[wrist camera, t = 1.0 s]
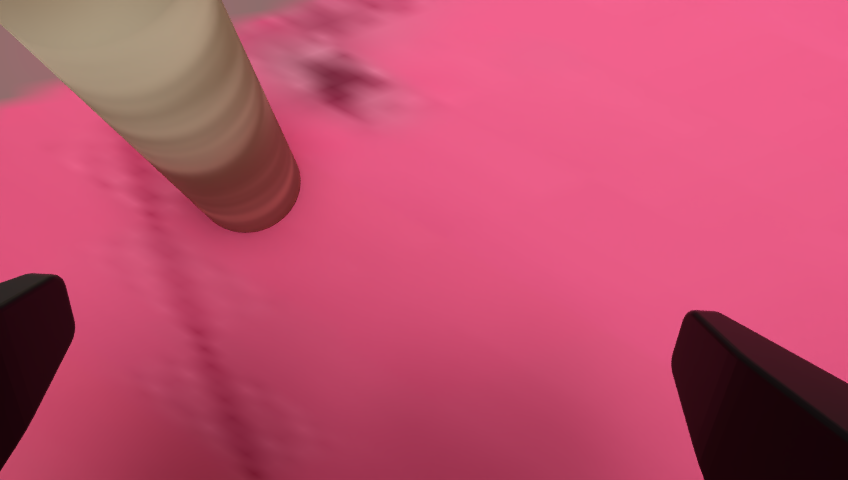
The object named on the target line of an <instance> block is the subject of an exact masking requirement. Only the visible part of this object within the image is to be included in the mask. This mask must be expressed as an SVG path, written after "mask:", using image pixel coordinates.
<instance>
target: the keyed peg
mask: <svg viewBox="0 0 848 480" xmlns="http://www.w3.org/2000/svg"><path fill="white" fill-rule="evenodd" d="M0 24H1V25H2V26H3V27H4V28H5V29H6V30H7V31H8V32H9V33H11V34H12V35H13V36H14V37H15V38H16V39H17V40H18V41H19V42H20V43H21V44H22V45H23V46H25V47H26V48H27V49H28V50H29V51H30V52H31V53H32V54H33V55H34V56H35V57H36V58H38V59H39V60H40V61H41V62H42V63H43V64H44V65H45V66H46V67H47V68H48V69H49V70H50V71H52V72H53V73H54V74H55V75H56V76H57V77H58V78H59V79H60V80H61V81H62V82H63V83H64V84H66V85H67V86H68V87H69V88H70V89H71V90H72V91H73V92H74V93H75V94H76V95H77V96H78V97H80V98H81V99H82V100H83V101H84V102H85V103H86V104H87V105H88V106H89V107H90V108H91V109H92V110H94V111H95V112H96V113H97V114H98V115H99V116H100V117H101V118H102V119H103V120H104V121H105V122H107V123H108V124H109V125H110V126H111V127H112V128H113V129H114V130H115V131H116V132H117V133H118V134H119V135H121V136H122V137H123V138H124V139H125V140H126V141H127V142H128V143H129V144H130V145H131V146H132V147H133V148H135V149H136V150H137V151H138V152H139V153H140V154H141V155H142V156H143V157H144V158H145V159H146V160H148V161H149V162H150V163H151V164H152V165H153V166H154V167H155V168H156V169H157V170H158V171H159V172H160V173H162V174H163V175H164V176H165V177H166V178H167V179H168V180H169V181H170V182H171V183H172V184H173V185H174V186H176V187H177V188H178V189H179V190H180V191H181V192H182V193H183V194H184V195H185V196H186V197H187V198H188V199H190V200H191V201H192V202H193V203H194V204H195V205H196V206H197V207H198V208H199V209H200V210H201V211H203V212H204V213H205V214H206V215H207V216H208V217H209V218H210V219H211V220H212V221H213V222H215V223H216V224H218V225H219V226H221V227H223V228H225V229H228V230H231V231H236V232H255V231H260V230H263V229H266V228H268V227H270V226H272V225H274V224H276V223H277V222H279V221H280V220H281V219H283V218H284V217H285V216H286V215H287V214H288V213H289V211H290V210H291V209H292V207H293V205H294V204H295V202H296V199H297V197H298V194H299V190H300V172H299V168H298V165H297V163H296V161H295V159H294V157H293V154H292V152H291V150H290V148H289V146H288V143H287V141H286V139H285V137H284V135H283V133H282V130H281V128H280V126H279V124H278V122H277V120H276V117H275V115H274V113H273V111H272V109H271V107H270V104H269V102H268V100H267V98H266V96H265V94H264V91H263V89H262V87H261V85H260V83H259V81H258V78H257V76H256V74H255V72H254V70H253V67H252V65H251V63H250V61H249V59H248V57H247V54H246V52H245V50H244V48H243V46H242V44H241V41H240V39H239V37H238V35H237V33H236V31H235V28H234V26H233V24H232V22H231V20H230V18H229V15H228V13H227V11H226V9H225V7H224V4H223V3H222V0H0Z"/></svg>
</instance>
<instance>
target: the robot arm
mask: <svg viewBox="0 0 848 480" xmlns="http://www.w3.org/2000/svg"><path fill="white" fill-rule="evenodd" d="M74 333H75V321H74V317H73V313H72V309H71V305H70V301H69V297H68V293H67V289H66V285H65V283H64V281H63V279H62V278H61V277H59V276H58V275H53V274H36V273H30V274H25V275H22V276H19V277H16V278H13V279H11V280H8V281H5V282H2V283H0V471H1V469H2V468H3V466H4V465H5V463H6V461H7V460H8V458H9V457H10V455H11V454H12V452H13V451H14V449H15V448H16V446H17V444H18V443H19V441H20V440H21V438H22V436H23V435H24V433H25V431H26V430H27V428H28V426H29V424H30V422H31V421H32V419H33V417H34V415H35V413H36V411H37V409H38V407H39V405H40V403H41V401H42V399H43V397H44V395H45V393H46V391H47V389H48V388H49V386H50V384H51V382H52V380H53V378H54V376H55V374H56V372H57V370H58V368H59V366H60V364H61V362H62V360H63V358H64V356H65V354H66V352H67V350H68V348H69V346H70V344H71V342H72V340H73V337H74ZM671 367H672V373H673V377H674V380H675V384H676V387H677V391H678V394H679V398H680V402H681V405H682V409H683V412H684V416H685V419H686V423H687V426H688V430H689V433H690V437H691V441H692V444H693V448H694V451H695V454H696V457H697V460H698V464H699V466H700V469H701V472H702V474H703V477H704V479H705V480H848V383H846V382H844V381H843V380H841V379H839V378H837V377H835V376H834V375H832V374H830V373H828V372H826V371H824V370H823V369H821V368H819V367H817V366H815V365H814V364H812V363H810V362H808V361H806V360H805V359H803V358H801V357H799V356H797V355H796V354H794V353H792V352H790V351H788V350H786V349H785V348H783V347H781V346H779V345H777V344H776V343H774V342H772V341H770V340H768V339H767V338H765V337H763V336H761V335H759V334H758V333H756V332H754V331H752V330H750V329H749V328H747V327H745V326H743V325H741V324H739V323H738V322H736V321H734V320H732V319H730V318H729V317H727V316H725V315H723V314H721V313H719V312H715V311H700V310H692V311H690V312H688V313H687V314H686V315H685V317H684V319H683V322H682V325H681V328H680V331H679V335H678V338H677V341H676V345H675V348H674V351H673V355H672V361H671Z"/></svg>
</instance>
